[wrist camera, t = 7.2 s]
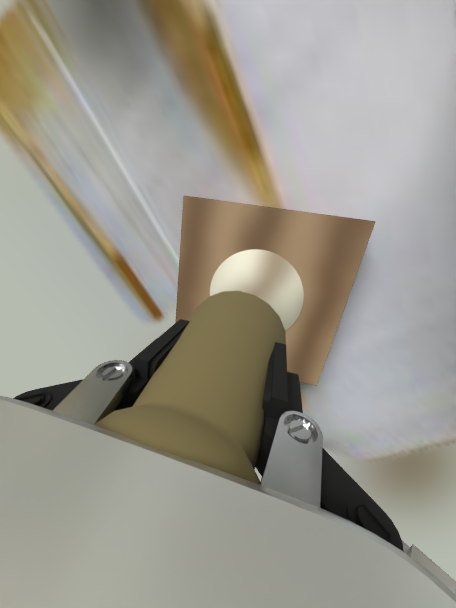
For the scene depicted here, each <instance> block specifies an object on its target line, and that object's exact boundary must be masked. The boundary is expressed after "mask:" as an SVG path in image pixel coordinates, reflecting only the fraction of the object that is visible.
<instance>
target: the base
mask: <svg viewBox="0 0 456 608" xmlns="http://www.w3.org/2000/svg"><path fill="white" fill-rule="evenodd" d="M374 224H375V221H368V220H361V219H353V218H346V217H338V216H331V215H324V214H316V213H309V212H301V211H294V210H287V209H279V208H272V207H264V206H257V205H250V204H242V203H235V202H227V201H220V200H213V199H205V198H198V197H190V196H184V197H183V213H182V229H181V245H180V261H179V277H178V292H177V308H176V322H178V321H179V320H180V319H183V320H187V321H189V319H190V318H191V316H192V315H193V313H194V312H195V310H196V308H197V307H198V306H199V305H200V304H201V303H202V302H203V301H205V300H206V299H207V298H208V297H210V296H212V295H215V294H217V293H220V292H223V291H241V292H245V293H249V294H253V295H255V296H257V297H259V298H260V299H262V300H263V301H265V302H266V303H268V304H269V305H270V306H271V307H272V308H273V309H274V311H275V312H276V313H277V314H278V315H279V316H280V319H281V321H282V324H283V326H284V329H285V334H286V353H287V372H291V373H295V374H298V376H299V381H300V382H303V383H307V384H311V385H314V386H317V384H318V381H319V378H320V375H321V372H322V370H323V367H324V364H325V361H326V358H327V356H328V353H329V350H330V347H331V344H332V342H333V339H334V336H335V333H336V330H337V328H338V325H339V322H340V319H341V317H342V314H343V311H344V308H345V305H346V303H347V300H348V297H349V294H350V291H351V289H352V286H353V283H354V280H355V277H356V275H357V272H358V269H359V266H360V263H361V261H362V258H363V255H364V252H365V249H366V247H367V244H368V241H369V238H370V235H371V233H372V230H373V227H374Z"/></svg>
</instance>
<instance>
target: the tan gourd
mask: <svg viewBox="0 0 456 608" xmlns="http://www.w3.org/2000/svg"><path fill="white" fill-rule="evenodd" d="M189 321H190V322H189V323H188V325H187V326H186V328H185V329H184V331H183V333H182V334H181V336H180V338H179V340H178V341H177V342H176V344H175V345H174V347H173V348H172V349H171V351H170V352H169V353H168V355H167V356H166V358H165V359H164V360H163V362H162V363H161V365H160V366H159V367H158V369H157V370H156V372H155V373H154V374H153V376H152V377H151V379H150V380H149V382H148V383H147V385H146V386H145V388H144V390H143V391H142V393H141V394H140V396H139V397H138V399H137V400H136V402H135V403H134V405H133V406H132V407H129V408H125V409H120V410H116V411H114V412H112V413H111V414H109V415H107V416H106V417H104V418H103V419H101V420H100V421H98V422H97V423H95V424H94V425H95V426H98V427H101V428H103V429H106V430H109V431H112V432H115V433H118V434H121V435H123V436H125V437H128V438H130V439H132V440H134V441H137V442H139V443H142V444H144V445H147V446H150V447H153V448H156V449H159V450H162V451H165V452H168V453H171V454H173V455H176V456H179V457H182V458H186V459H189V460H193V461H196V462H199V463H201V464H204V465H207V466H209V467H212V468H215V469H218V470H220V471H223V472H226V473H229V474H231V475H234V476H237V477H240V478H242V479H245V480H248V481H250V482H253V483H256V484H259V485H261V482H260V481H259V479H258V476H257V474H256V473H255V470H254V469H255V465H256V461H257V457H258V453H259V449H260V445H261V441H262V435H263V429H264V411H263V409H262V403H263V397H264V390H265V383H266V376H267V369H268V362H269V359H270V356H271V354H272V351H273V349H274V346H275V342H278V343H282V344H286V334H285V329H284V326H283V324H282V321H281V319H280V316H279V315H278V314H277V313H276V312H275V311H274V309H273V308H272V307H271V306H270V305H269V304H268V303H266V302H265V301H263V300H262V299H260V298H259V297H257V296H255V295H253V294H249V293H245V292H241V291H223V292H220V293H217V294H215V295H212V296H210V297H208V298H207V299H206V300H205V301H203V302H202V303H201V304H200V305H199V306H198V307H197V308H196V310H195V312H194V313H193V315H192V316H191V318H190V319H189Z"/></svg>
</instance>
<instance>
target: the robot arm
mask: <svg viewBox="0 0 456 608" xmlns="http://www.w3.org/2000/svg"><path fill="white" fill-rule="evenodd" d="M189 322H190V321H187V320H183V319H180V320H179V321H178V322H176V323H175V324H174V325H173V326H172V327H171V328H169V329H168V330H167V331H166V332H165V333H164V334H163V335H161V336H160V337H159V338H157V339H156V340H155V341H153V342H152V343H151V344H150V345H149V346H147V347H146V348H145V349H144V350H143V351H142V352H140V353H139V354H138V355H137V356H136V357H135V358H133V359H132V360H131V361H130V362H129V363H128V362H126V361H122V360H114V361H108V362H105V363H102V364H100V365H98V366H97V367H96V368H95V369H94V370H93V371H92V372H91V373H90V374H89V375H88V376H87V377H86V378H85V379H83V380H78V381H74V382H69V383H64V384H59V385H54V386H50V387H45V388H40V389H35V390H32V391H28V392H25V393H23V394H20V395H18V396H16V397H15V398H13V399H12V398H9V397H4V396H0V608H456V581H455V580H454V579H452V578H451V577H450V576H449V575H448V574H447V573H446V572H444V571H443V570H442V569H441V568H440V567H439V566H437V565H436V564H435V563H434V562H433V561H432V560H431V559H429V558H428V557H427V556H426V555H425V554H423V552H421V551H420V550H419V549H418V548H417V547H416V546H414V545H412V546H411V547H409V546H408V545H406V544H405V543H404V542H403V541H402V540H401V538H400V535H399V533H398V530H397V529H396V527H395V525H394V524H393V522H392V520H391V519H390V518H389V517H388V516H387V514H386V513H385V512H384V511H383V510H382V509H381V508H380V507H379V506H378V505H377V504H376V503H375V502H374V500H373V499H371V497H370V496H369V495H368V494H367V493H366V492H365V491H364V490H363V489H362V488H361V487H360V486H359V485H358V484H357V483H356V482H355V481H354V480H353V479H352V478H351V477H350V476H349V475H348V474H347V473H346V472H345V471H344V470H343V468H342V467H340V465H339V464H338V463H336V461H335V460H334V459H333V458H332V457H331V456H330V455H329V454H328V453H327V452H326V451H325V450H324V449H323V448H322V445H323V437H322V432H321V430H320V428H319V426H318V425H317V424H316V422H315V421H314V420H312V419H311V418H310V417H309V416H307V415H305V414H303V411H302V402H301V392H300V383H299V376H298V374H295V373H291V372H287V353H286V344H282V343H278V342H275V346H274V349H273V351H272V354H271V356H270V359H269V362H268V369H267V376H266V383H265V390H264V397H263V403H262V409H263V411H264V429H263V435H262V441H261V445H260V449H259V453H258V457H257V461H256V465H255V467H256V468H257V469H258V471H259V473H260V474H261V476H262V479H261V485H259V484H256V483H253V482H250V481H248V480H245V479H242V478H240V477H237V476H234V475H231V474H229V473H226V472H223V471H220V470H218V469H215V468H212V467H209V466H207V465H204V464H201V463H199V462H196V461H193V460H189V459H186V458H182V457H179V456H176V455H173V454H171V453H168V452H165V451H162V450H159V449H156V448H153V447H150V446H147V445H144V444H142V443H139V442H137V441H134V440H132V439H130V438H128V437H125V436H123V435H121V434H118V433H115V432H112V431H109V430H106V429H103V428H101V427H98V426H95V425H94V424H95V423H97V422H98V421H100V420H101V419H103V418H104V417H106V416H107V415H109V414H111V413H112V412H114V411H116V410H120V409H125V408H129V407H132V406H133V405H134V403H135V402H136V400H137V399H138V397H139V396H140V394H141V393H142V391H143V390H144V388H145V386H146V385H147V383H148V382H149V380H150V379H151V377H152V376H153V374H154V373H155V372H156V370H157V369H158V367H159V366H160V365H161V363H162V362H163V360H164V359H165V358H166V356H167V355H168V353H169V352H170V351H171V349H172V348H173V347H174V345H175V344H176V342H177V341H178V340H179V338H180V336H181V334H182V333H183V331H184V329H185V328H186V326H187V325H188V323H189Z"/></svg>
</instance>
